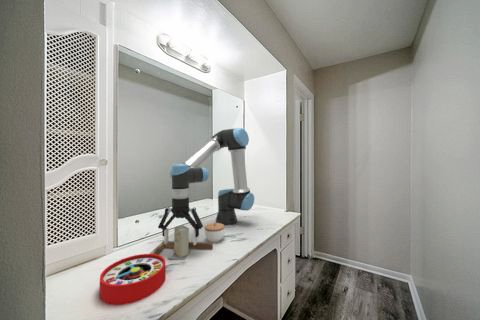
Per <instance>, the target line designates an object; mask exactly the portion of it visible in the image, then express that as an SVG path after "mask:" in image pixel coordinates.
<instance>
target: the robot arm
mask: <svg viewBox="0 0 480 320" xmlns="http://www.w3.org/2000/svg"><path fill="white" fill-rule="evenodd" d="M249 141H250V138H249V134H248V132H247V130H246V129H244V128H243V127H234V128H230V129H222V130H220V131H218V132H217V133H215V134H214V135H212V136H210V138H209V139H208V140H207V143H205V144H204V145H202V147H200V148H199V149H198V150H197V151H196V152H195V153H193V154H192V155H191V156H190V157H188V159H187V160H186V161H184V162H183V163H175V164H173V165H172V167H171V170H170V172H169V175H170V178H171V197H172V198H171V207H169V206H168V207H166V208H164V214H163V216H162V219H161V220H160V222H159V223H158V224H159V225H157V226H158V228H157V229H161V230H162V237H164V239H163V241H164V244H167V243H168V242H169V241H170V240H169V238H170V237H169V225H170V224H171V223H172V222H173V220H174V219H185V220H186V221H188V223H189V224H190V226H192V228H193V229H194V230H193V233H192V234H193V242H194V245H196V243H197V242H198V238H199V236H200V230H202V229H203V227H204V225H203V223H202V221H201V219H200V217H199V215H198V213H197V208H196V207H194V206H193V207H190V198H189V196H190V184H196V183H204V182H207V181H208V180H209V177H210V175H209V170H208V168H206V167H200V166H202V165H203V163H205V162H206V161H207V160H209V158H210V157H211V156H212V155H213V154H214V153H215V152H219V151H220V150H221V149H223V148H227V150H228V152H230V156H231V167H232V176H233V185H234V186H233V188H226V189H220V190H219V191H218V194H217V201H218V203H217V205H218V206H217V207H218V208H217V210H218V211H217V214H216V217H215V223H221V224H224V226H229V225H230V226H231V225H234V224H236V223H238V217H237V214H236V210H240V211H250V210H251V209H252V207H253V206H254V203H255V195H254V194H253V193H252V192H251V189H250V188H249V187H248V179H247V169H246V160H245V150H246V149H247V148H246V147H247V146H248V145H249ZM170 213H172V215H171V216H170V217H169V215H170ZM190 213H191V214H192V216H191V214H190ZM168 217H169V219H168ZM167 219H168V220H167ZM166 220H167V221H166ZM165 222H166V223H165Z"/></svg>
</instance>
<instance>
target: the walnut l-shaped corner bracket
mask: <svg viewBox="0 0 480 320" xmlns="http://www.w3.org/2000/svg"><path fill="white" fill-rule="evenodd" d="M167 249H168V250H169V249H171V250H174V240H173V241H172V240H171V241H170V240H169V242H168V243H167V244H164V240H163V241H162V242H160V244H159V245H157V246H156V247H155V248H154V249H152V251H150V252H149V253H148V254H156V255H160V254H161V253H162V252H163V251H165V250H167ZM192 250H202V251H203V250H205V251H213V250H214V249H213V242H210V241H205V242H204V241H197V243H196V245H194V241H189V242H188V255H189V254H190V253H191V252H192ZM188 255H186V256H183V257H178V256H177V255H176V254H175V253H174V252H173V253H172V255H171V256H169V257H168V260H172V261H173V260H175V261H179V260H180V261H185V260H186V259H187V257H188Z"/></svg>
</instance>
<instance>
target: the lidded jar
mask: <svg viewBox="0 0 480 320" xmlns="http://www.w3.org/2000/svg"><path fill="white" fill-rule="evenodd" d="M225 226H226V225H224V224H221V223H216V222H211V223H208V224H205V226H204V234H205V238H206V239H207V240H208V242H213V243H219V242H220V241H221V240H222V239H223V237H224V235H225Z"/></svg>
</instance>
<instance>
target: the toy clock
mask: <svg viewBox="0 0 480 320" xmlns="http://www.w3.org/2000/svg"><path fill="white" fill-rule="evenodd" d="M166 267H167V265H166V258H164V257H163V256H162V255H160V254H159V255H156V254H149V253H142V254H141V253H140V254H135V255H131V256H127V257H125V258H121V259H120V260H117V261H115V262H113V263H111V264H110V265H108V266H107V267H106V268H104V269H103V271H102V272H101V273H100V275H99V298H100V300H101V302H102V303H104V302H105V304H106V303H107V304H106V305H111V306H121V305H128V304H132V303H136V302H140V301H141V300H144V299H146V298H147V297H150V296H152V295H153V294H154V293H156V292H157V291H158V290H159V289H160V288H161V287H162V286H163V285H164V283H165V282H166V281H165V280H166V275H167V274H166Z"/></svg>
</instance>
